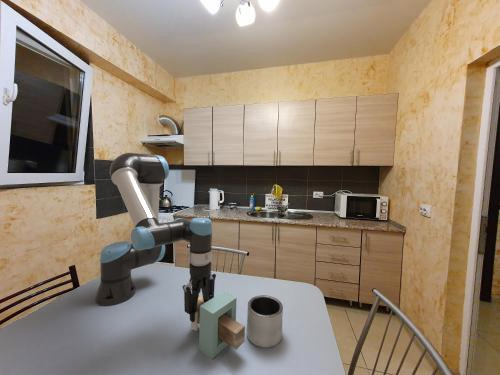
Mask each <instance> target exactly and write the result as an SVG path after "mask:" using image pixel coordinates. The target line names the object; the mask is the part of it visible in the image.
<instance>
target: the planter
mask: <svg viewBox="0 0 500 375" xmlns="http://www.w3.org/2000/svg"><path fill="white" fill-rule="evenodd" d="M283 309H284V306H283V304H282V302H281V301H280V300H279V299H278V298H276V297H273V296H270V295H265V294H263V295H262V294H261V295H256V296H254V297H251V299H249V300H248V302H247V317H246V318H247V319H246V335H247V338H248V339H249V341H250V342H251V344H252V343H253V344H254V345H255V346H258V347H261V348H271V347H272V348H273V347H275V346H276V345H278V344H279V343H280V342H281V340H282V337H283V318H284V317H283V315H284V314H283V313H284V310H283Z"/></svg>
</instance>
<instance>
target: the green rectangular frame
mask: <svg viewBox="0 0 500 375" xmlns="http://www.w3.org/2000/svg"><path fill="white" fill-rule="evenodd" d="M223 314H225V315H226V316H228V317H230V318H231V319H233V320H235V321H237V297H236V296H234V295H233V294H230V293H227V292H226V291H222V292H220V293H219V294H217V295H216V296H214V298H212V299H211V300H209V301H207V302H206V303H204V304H202V305H201V306H200V324H199V336H198V338H199V341H198V342H199V345H198V347H199V348H198V350H200V351H201V352H202V353H204V354H205V355H206V356H208V357H209V358H210V359H211V360H213V359H214V358H215V357H216V356H217V355H218V354H219V353H221V352H222V351H223V350H224V349H225V348H226V347H227V346H229V344H227V343H226V342H224V341H223V340H221V339H220V338H218V318H219V317H220V316H221V315H223Z"/></svg>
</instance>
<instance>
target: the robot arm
mask: <svg viewBox="0 0 500 375" xmlns="http://www.w3.org/2000/svg"><path fill="white" fill-rule="evenodd" d="M169 174H170V167H169V163H168V161H167V159H166V158H165V157H164V156H162V155H157V154H149V153H136V152H135V153H134V152H126V153H122V154H120V155H118V156H117V157H116V158H115V159H114V160H113V161H112V162H111V164H110V167H109V177H110V180H111V182H112V183H113V184H114V185H115V186H117V189H118V191H119V193H120V196H121V198H122V201H123V203H124V205H125V207H126V210H127V211H128V214H129V217H130V219H131V222H132V224H133V226H134V228H132V230H131V233H130V240H131V242H130V241H125V240H123V241H116V242H113V243H110V244H108V245H106V246H104V247H103V248H102V249H101V250H100V256H99V262H100V263H99V264H100V268H99V270H100V283H99V286H98V288H97V291H96V294H95V302H96V303H97V304H98V305H100V306H113V305H117V304H118V305H119V304H121V303H124V302H127V301H128V300H129V299H131V298H132V297H133V296H134V295H135V294H136V284H135V282H134V279H133V277H132V270H134V269H138V268H141V267H144V266H148V265H153V264H155V263H157V262H161V260H162V259H163V258H164V257H165V254H166V245H169V244H174V243H178V242H182V241H184V242H187V243H189V276H190V277H189V281H188V283H187V284H183V285H182V291H183V298H184V300H183V301H184V302H183V303H184V312H185V313H186V314H188V315H189V321H190V327H191V328H192V329H193V330H194V331H195V332H196V331H198V330H199V329H198V327H199V324H198V312H197V311H196V309H197V303H198V297H199V296H200V293H201V294H202V298H203V301H204V303H206V302H207V301H209V300H211V299H212V298H214V297H215V284H216V282H215V280H216V277H217V274H215V273H214V272H212V244H213V241H212V240H213V239H212V238H213V225H212V224H213V223H212V220H211V219H210V218H209V217H194V218H191V219H190V220H189V219H188V218H180V217H179V218H175V219H174V220H172V221H170V222H163V223H160V222H159V214H160V212H159V210H160V208H159V207H160V190H161V188H160V187H161V186H162V185H164V180H167V179H168V178H169V177H168V176H169Z"/></svg>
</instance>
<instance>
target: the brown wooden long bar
mask: <svg viewBox="0 0 500 375" xmlns="http://www.w3.org/2000/svg"><path fill="white" fill-rule="evenodd" d="M202 304H204V302H202V301H200V300H198V303H197V309H196V311H197V312H198V325H200V306H201V305H202ZM218 338H220V339H221V340H223V341H224V342H226V343H227V344H228V346H231V347H232V348H233V349H234V350H238V349H239V348H240V347H241V346H242V345H243V344H244V343H245V341H246V340H245V338H246V325H244V324H242V323H240V322H238V321H237V320H236V321H235V320H233V319H231V318H230V317H228V316H226V315H225V314H223V315H221V316H220V317H219V318H218Z"/></svg>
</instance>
